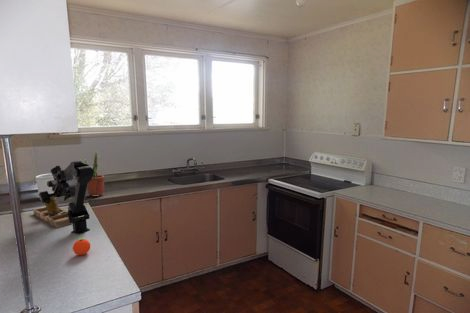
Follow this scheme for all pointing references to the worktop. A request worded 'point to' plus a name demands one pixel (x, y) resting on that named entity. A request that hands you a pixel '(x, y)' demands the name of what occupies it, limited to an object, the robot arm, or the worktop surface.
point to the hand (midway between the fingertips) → (56, 202)
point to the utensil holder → (44, 183)
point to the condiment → (53, 207)
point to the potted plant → (95, 180)
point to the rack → (53, 217)
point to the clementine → (81, 246)
